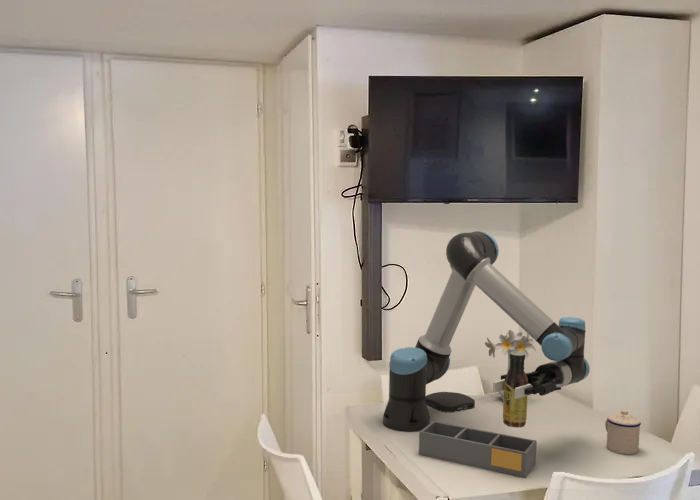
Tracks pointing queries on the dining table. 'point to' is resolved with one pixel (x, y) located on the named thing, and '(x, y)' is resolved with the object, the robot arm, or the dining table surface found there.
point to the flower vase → (511, 346)
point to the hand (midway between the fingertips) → (504, 390)
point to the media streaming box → (449, 401)
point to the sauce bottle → (515, 378)
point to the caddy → (478, 448)
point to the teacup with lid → (623, 433)
